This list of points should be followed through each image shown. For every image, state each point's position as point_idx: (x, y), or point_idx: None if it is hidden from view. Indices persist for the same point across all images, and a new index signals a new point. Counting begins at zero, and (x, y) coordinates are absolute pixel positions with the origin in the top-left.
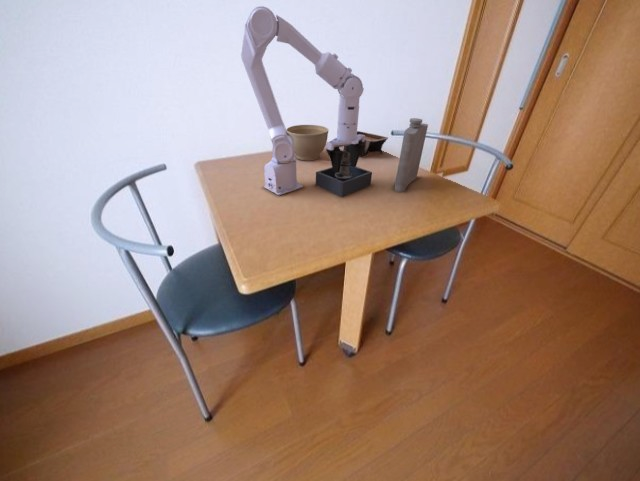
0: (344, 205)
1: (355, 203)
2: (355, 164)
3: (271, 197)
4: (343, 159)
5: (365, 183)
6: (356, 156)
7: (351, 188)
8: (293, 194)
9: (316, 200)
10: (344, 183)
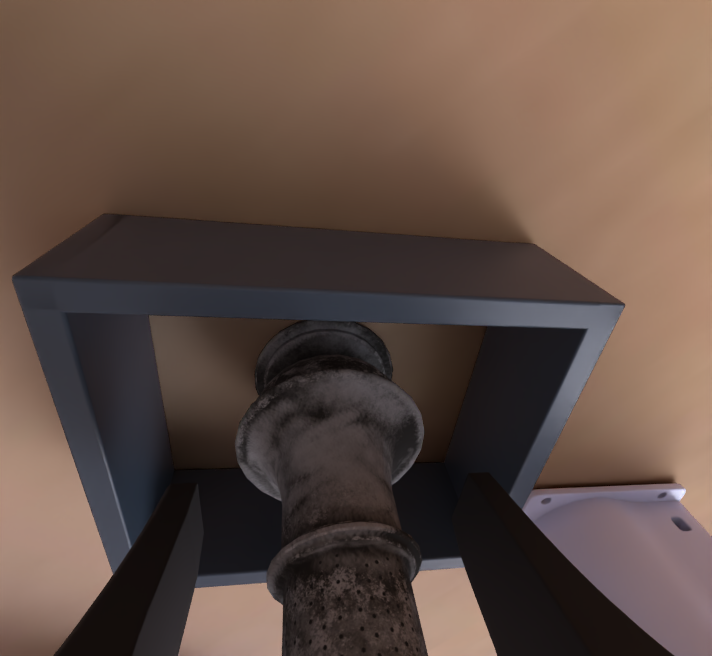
0: (677, 122)
1: (598, 59)
2: (181, 509)
3: (704, 486)
4: (422, 632)
5: (198, 235)
6: (140, 645)
7: (436, 254)
8: (632, 457)
9: (662, 333)
10: (595, 297)
